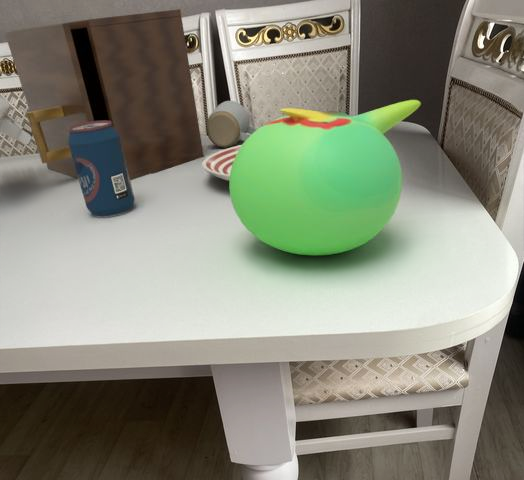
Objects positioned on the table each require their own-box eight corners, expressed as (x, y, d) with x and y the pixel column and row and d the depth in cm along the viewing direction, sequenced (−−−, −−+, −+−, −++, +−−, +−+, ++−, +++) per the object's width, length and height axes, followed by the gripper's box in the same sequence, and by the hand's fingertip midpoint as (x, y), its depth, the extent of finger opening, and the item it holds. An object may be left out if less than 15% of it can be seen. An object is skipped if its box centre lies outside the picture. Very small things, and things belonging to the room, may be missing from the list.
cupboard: (127, 181, 91) (88, 19, 78) (53, 167, 107) (10, 30, 94) (203, 156, 101) (180, 9, 88) (126, 146, 117) (96, 20, 104)
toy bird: (209, 258, 59) (185, 117, 51) (299, 211, 69) (291, 87, 61) (347, 295, 48) (344, 124, 40) (429, 232, 58) (440, 86, 50)
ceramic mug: (206, 150, 105) (201, 108, 101) (216, 140, 112) (211, 101, 108) (258, 147, 103) (254, 105, 99) (265, 138, 110) (262, 98, 106)
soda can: (80, 215, 77) (54, 129, 71) (118, 201, 81) (97, 118, 75) (107, 222, 73) (82, 131, 67) (146, 207, 77) (126, 120, 71)
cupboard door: (73, 197, 86) (22, 28, 73) (19, 176, 103) (-30, 36, 90) (111, 186, 89) (68, 22, 76) (52, 167, 107) (9, 31, 94)
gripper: (-63, 69, 71) (36, 133, 78) (-38, 61, 88) (42, 115, 95) (-84, 110, 73) (16, 169, 80) (-55, 95, 89) (25, 145, 96)
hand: (30, 139), depth 87 cm, fingers closed
